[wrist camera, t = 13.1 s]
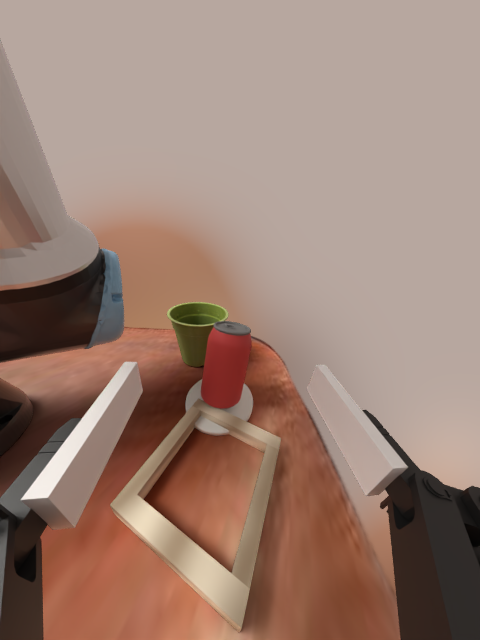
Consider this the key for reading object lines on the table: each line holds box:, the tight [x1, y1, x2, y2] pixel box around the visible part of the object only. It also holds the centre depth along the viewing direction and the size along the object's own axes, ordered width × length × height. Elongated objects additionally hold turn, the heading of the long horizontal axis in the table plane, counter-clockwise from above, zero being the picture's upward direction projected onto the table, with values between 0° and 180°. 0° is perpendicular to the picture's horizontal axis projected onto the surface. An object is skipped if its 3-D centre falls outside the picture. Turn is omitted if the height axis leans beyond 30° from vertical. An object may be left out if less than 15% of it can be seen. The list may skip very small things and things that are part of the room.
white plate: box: [185, 379, 253, 436], centre depth 28 cm, size 11×11×1 cm
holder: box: [110, 398, 281, 632], centre depth 19 cm, size 13×13×2 cm
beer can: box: [201, 321, 251, 409], centre depth 26 cm, size 7×7×12 cm
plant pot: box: [167, 302, 228, 367], centre depth 36 cm, size 12×12×11 cm
